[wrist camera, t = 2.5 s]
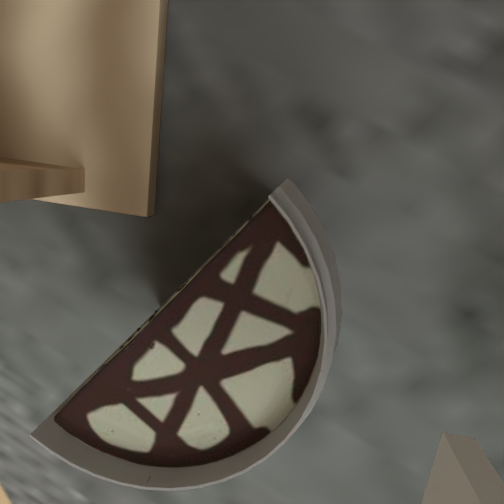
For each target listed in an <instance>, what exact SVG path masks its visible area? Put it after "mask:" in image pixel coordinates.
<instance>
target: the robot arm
mask: <svg viewBox="0 0 504 504" xmlns="http://www.w3.org/2000/svg"><path fill="white" fill-rule="evenodd" d="M421 504H504V483H503V482H502V480H501V479H500V477H499V476H498V474H497V472H496V471H495V469H494V468H493V466H492V465H491V463H490V462H489V460H488V458H487V457H486V455H485V454H484V452H483V451H482V449H481V448H480V446H479V444H478V443H477V441H476V440H475V438H470V437H465V436H459V435H454V434H449V433H444V432H443V433H442V436H441V440H440V443H439V446H438V449H437V453H436V456H435V459H434V463H433V466H432V469H431V473H430V476H429V479H428V483H427V486H426V489H425V493H424V496H423V499H422V503H421Z"/></svg>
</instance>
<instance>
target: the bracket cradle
mask: <svg viewBox="0 0 504 504" xmlns="http://www.w3.org/2000/svg"><path fill="white" fill-rule="evenodd" d="M167 14H168V0H0V203H1V202H9V201H18V200H26V199H34V200H41V201H47V202H54V203H60V204H67V205H73V206H79V207H86V208H92V209H99V210H105V211H112V212H118V213H124V214H131V215H137V216H144V217H148V216H151V215H154V212H155V197H156V182H157V167H158V151H159V136H160V121H161V106H162V90H163V75H164V60H165V45H166V30H167Z"/></svg>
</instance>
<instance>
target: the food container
mask: <svg viewBox="0 0 504 504" xmlns="http://www.w3.org/2000/svg"><path fill="white" fill-rule="evenodd" d="M268 198H269V199H268V200H267V201H266V202H265V203H264V204H263V205H262V206H261V207H260V208H259V209H258V210H257V211H256V212H255V213H254V214H253V215H251V217H250V218H249V219H248V220H247V221H246V222H245V223H244V224H243V225H242V226H241V227H240V228H239V229H238V230H237V231H236V232H235V233H234V234H233V235H232V236H231V237H230V238H229V239H228V240H227V241H226V242H225V243H224V244H223V245H222V246H221V247H219V249H218V250H217V251H216V252H215V253H214V254H213V255H212V256H211V257H210V258H209V259H208V260H207V261H206V262H205V263H204V264H203V265H202V266H201V267H200V268H199V269H198V270H197V271H196V272H195V273H194V274H193V275H192V276H191V277H190V278H189V279H188V280H187V281H186V282H185V283H184V284H183V285H182V286H181V287H180V288H179V289H177V291H176V292H175V293H174V294H173V295H172V296H171V297H170V298H169V299H168V300H167V301H166V302H165V303H164V304H163V305H162V306H161V307H160V308H159V309H158V310H157V311H155V313H154V314H153V315H152V316H151V317H150V318H149V319H148V320H146V321H145V322H144V323H143V324H142V325H141V326H140V327H139V328H138V329H137V330H136V331H135V332H134V333H133V334H132V335H131V336H130V337H129V338H128V339H127V340H126V341H125V342H124V343H123V344H122V345H121V346H120V347H119V348H118V349H117V350H116V351H115V352H114V353H113V354H112V355H111V356H110V357H109V358H108V359H107V360H106V361H105V362H104V363H103V364H102V365H101V366H100V367H99V368H98V369H97V370H96V371H95V372H94V373H93V374H91V375H90V376H89V377H88V378H87V379H86V380H85V381H84V382H83V383H82V384H81V385H80V386H79V387H78V388H77V389H76V390H75V391H74V392H73V393H72V394H71V395H70V396H69V397H68V398H67V399H66V400H65V401H64V402H63V403H62V404H61V405H60V406H59V407H58V408H57V409H56V410H55V411H54V412H53V413H52V414H51V415H50V416H49V417H48V418H47V419H46V420H45V421H44V422H43V423H42V424H41V425H40V426H39V427H38V428H36V429H35V430H34V431H33V432H32V433H31V434H30V435H29V436H30V437H31V438H32V439H33V440H35V441H36V442H37V443H38V444H40V445H41V446H42V447H43V448H45V449H46V450H47V451H48V452H50V453H51V454H53V455H55V456H56V457H58V458H59V459H61V460H63V461H64V462H66V463H68V464H69V465H71V466H73V467H75V468H77V469H79V470H81V471H84V472H86V473H88V474H90V475H92V476H94V477H97V478H100V479H103V480H107V481H110V482H113V483H116V484H119V485H124V486H129V487H134V488H140V489H145V490H165V491H175V490H186V489H197V488H201V487H205V486H209V485H213V484H217V483H221V482H224V481H226V480H229V479H231V478H234V477H236V476H238V475H241V474H243V473H245V472H247V471H249V470H250V469H252V468H253V467H255V466H257V465H258V464H260V463H261V462H263V461H265V460H266V459H268V458H269V457H270V456H271V455H272V454H273V453H274V452H275V451H277V450H278V449H279V448H280V447H281V446H282V445H283V444H284V443H285V442H286V441H287V440H288V439H289V438H290V436H291V435H292V434H293V433H294V432H295V431H296V430H297V429H298V427H299V426H300V425H301V424H302V422H303V421H304V420H305V419H306V417H307V416H308V415H309V414H310V412H311V410H312V409H313V407H314V405H315V403H316V401H317V399H318V397H319V396H320V394H321V392H322V390H323V388H324V385H325V382H326V379H327V376H328V373H329V370H330V367H331V364H332V361H333V357H334V354H335V350H336V347H337V343H338V338H339V331H340V323H341V315H342V307H341V284H340V280H339V275H338V270H337V265H336V261H335V256H334V253H333V251H332V248H331V246H330V243H329V240H328V238H327V235H326V233H325V230H324V228H323V226H322V224H321V222H320V221H319V219H318V217H317V216H316V214H315V212H314V210H313V209H312V207H311V205H310V204H309V202H308V200H307V199H306V198H305V196H304V195H303V194H302V193H301V192H300V190H299V189H298V188H297V187H296V186H295V184H294V183H293V182H292V181H291V180H290V178H289V177H288V178H287V179H286V180H285V181H284V182H283V183H282V184H280V185H279V186H278V187H277V188H276V189H275V190H274V191H273V192H272V193H271V194H270V195H269V196H268Z"/></svg>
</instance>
